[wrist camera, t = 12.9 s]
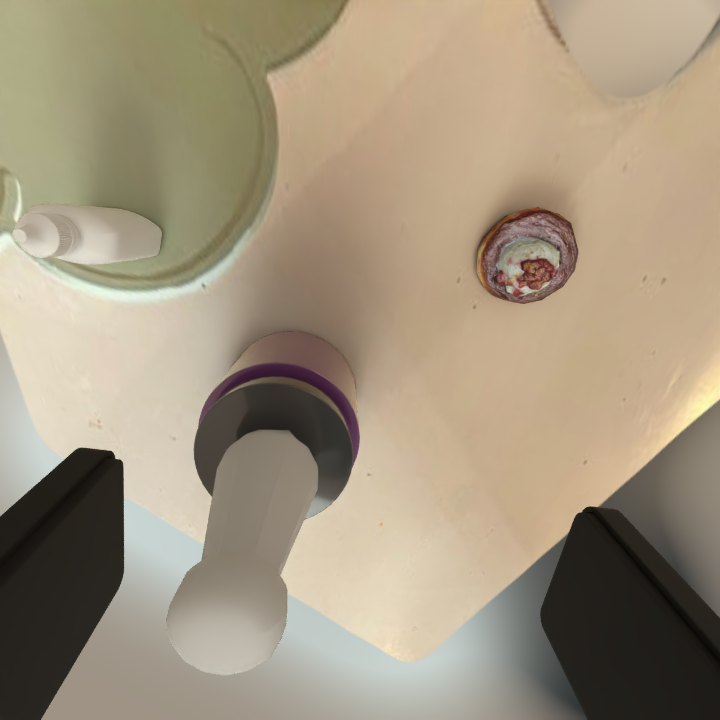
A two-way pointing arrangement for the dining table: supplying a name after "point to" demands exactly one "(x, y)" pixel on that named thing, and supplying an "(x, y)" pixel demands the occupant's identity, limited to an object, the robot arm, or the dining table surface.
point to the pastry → (527, 256)
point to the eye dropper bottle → (86, 234)
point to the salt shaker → (244, 555)
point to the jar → (286, 408)
